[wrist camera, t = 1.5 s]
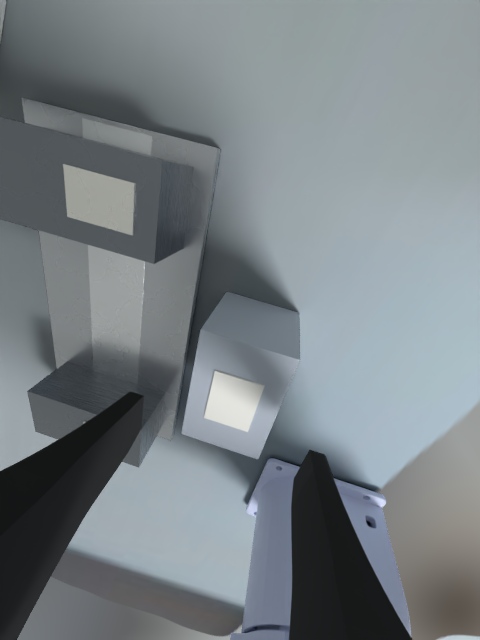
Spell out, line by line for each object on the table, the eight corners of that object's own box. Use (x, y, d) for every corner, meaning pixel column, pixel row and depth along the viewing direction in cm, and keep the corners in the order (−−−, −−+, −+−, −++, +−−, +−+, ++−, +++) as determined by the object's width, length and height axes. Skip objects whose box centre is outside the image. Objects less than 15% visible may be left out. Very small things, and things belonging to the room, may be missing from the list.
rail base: (221, 149, 13) (190, 134, 9) (173, 434, 23) (150, 481, 19) (32, 101, 13) (-66, 68, 10) (66, 398, 23) (24, 437, 20)
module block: (299, 312, 16) (300, 361, 11) (267, 397, 19) (258, 461, 15) (226, 290, 16) (199, 330, 12) (207, 378, 19) (180, 435, 15)
